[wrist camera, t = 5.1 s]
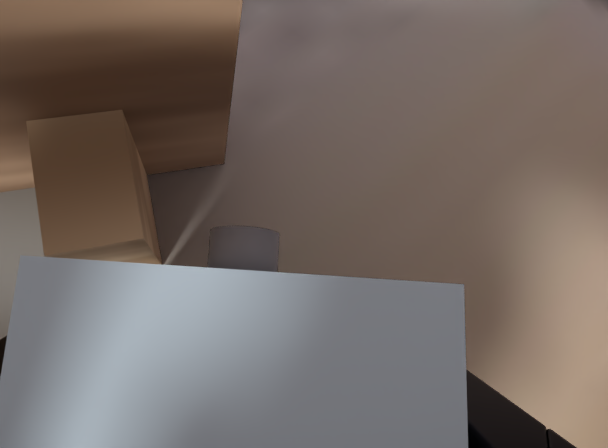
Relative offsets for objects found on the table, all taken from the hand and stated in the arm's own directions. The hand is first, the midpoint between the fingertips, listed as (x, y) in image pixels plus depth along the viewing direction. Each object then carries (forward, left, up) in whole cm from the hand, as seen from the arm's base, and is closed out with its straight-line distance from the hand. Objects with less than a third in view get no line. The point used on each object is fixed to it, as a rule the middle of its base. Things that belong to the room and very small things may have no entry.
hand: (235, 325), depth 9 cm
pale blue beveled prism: (-1, +1, -7) cm, 7 cm away
